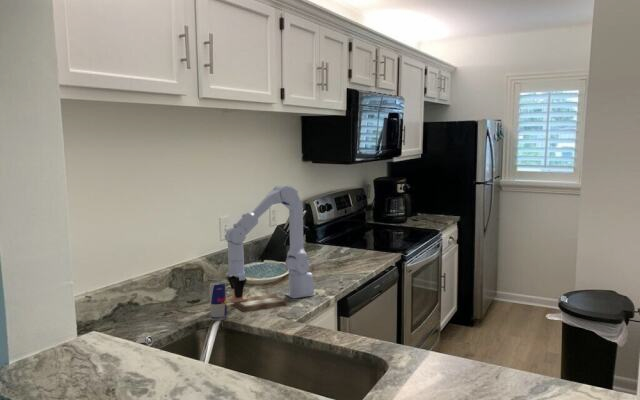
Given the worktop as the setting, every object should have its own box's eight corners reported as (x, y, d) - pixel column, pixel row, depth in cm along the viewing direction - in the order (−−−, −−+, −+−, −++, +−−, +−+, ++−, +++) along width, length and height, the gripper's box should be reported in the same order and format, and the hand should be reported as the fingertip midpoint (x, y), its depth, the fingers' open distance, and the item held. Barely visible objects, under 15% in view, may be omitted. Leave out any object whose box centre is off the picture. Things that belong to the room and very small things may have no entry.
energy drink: (223, 321, 161) (221, 284, 161) (208, 320, 162) (206, 284, 162) (229, 316, 166) (228, 281, 166) (214, 316, 167) (213, 281, 167)
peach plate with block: (243, 298, 186) (243, 286, 185) (247, 300, 181) (247, 289, 181) (228, 300, 183) (227, 288, 183) (231, 302, 178) (231, 291, 178)
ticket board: (273, 297, 192) (272, 293, 192) (286, 305, 179) (286, 300, 179) (233, 303, 185) (232, 298, 185) (244, 311, 172) (243, 306, 172)
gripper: (220, 258, 186) (221, 294, 187) (230, 263, 173) (232, 301, 174) (238, 257, 189) (239, 292, 190) (250, 261, 176) (251, 299, 177)
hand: (237, 296), depth 182 cm, fingers closed on peach plate with block, 3 cm apart
